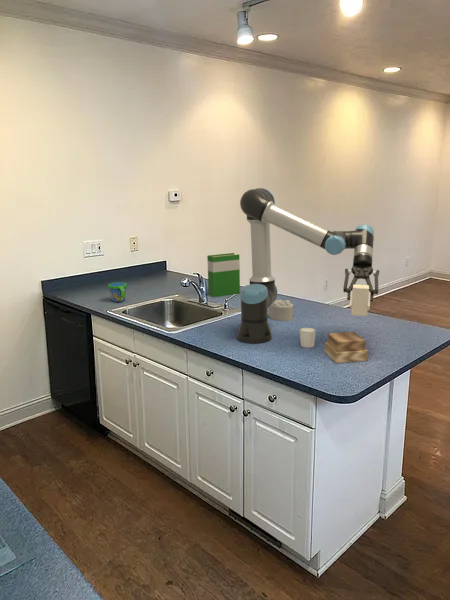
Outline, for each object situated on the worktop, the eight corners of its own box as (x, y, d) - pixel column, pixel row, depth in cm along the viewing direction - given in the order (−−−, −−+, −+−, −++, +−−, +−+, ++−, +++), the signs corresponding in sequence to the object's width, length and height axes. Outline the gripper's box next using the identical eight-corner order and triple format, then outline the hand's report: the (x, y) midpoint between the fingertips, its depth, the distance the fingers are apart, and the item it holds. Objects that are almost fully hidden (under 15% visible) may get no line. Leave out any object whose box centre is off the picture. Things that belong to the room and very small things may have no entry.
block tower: (335, 363, 191) (336, 343, 189) (324, 351, 204) (324, 332, 202) (367, 360, 193) (368, 341, 191) (354, 349, 205) (355, 330, 203)
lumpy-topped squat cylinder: (281, 313, 259) (281, 297, 257) (298, 319, 249) (298, 302, 247) (265, 316, 254) (265, 300, 252) (281, 322, 243) (281, 305, 241)
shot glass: (304, 341, 216) (304, 326, 214) (318, 344, 212) (319, 329, 210) (296, 345, 211) (296, 330, 209) (310, 349, 206) (310, 333, 205)
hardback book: (234, 291, 309) (233, 252, 303) (239, 293, 303) (239, 254, 297) (208, 294, 301) (207, 255, 295) (213, 297, 295) (212, 257, 289)
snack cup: (131, 302, 287) (130, 285, 284) (113, 305, 282) (112, 287, 280) (123, 297, 300) (122, 280, 298) (106, 299, 296) (104, 282, 293)
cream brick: (351, 315, 195) (352, 287, 192) (351, 310, 201) (353, 284, 198) (367, 316, 194) (369, 288, 191) (367, 311, 199) (368, 285, 196)
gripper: (386, 264, 204) (384, 313, 194) (339, 262, 210) (334, 310, 199) (387, 254, 198) (385, 304, 187) (339, 252, 203) (334, 301, 192)
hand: (359, 307), depth 193 cm, fingers closed on cream brick, 6 cm apart
